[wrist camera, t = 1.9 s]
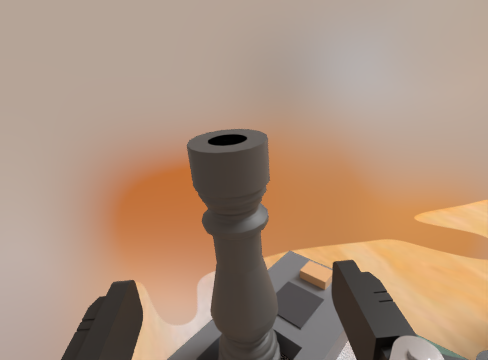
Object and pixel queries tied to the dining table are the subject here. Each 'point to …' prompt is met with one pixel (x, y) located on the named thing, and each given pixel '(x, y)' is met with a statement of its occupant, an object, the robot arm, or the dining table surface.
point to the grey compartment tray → (289, 315)
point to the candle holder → (237, 239)
